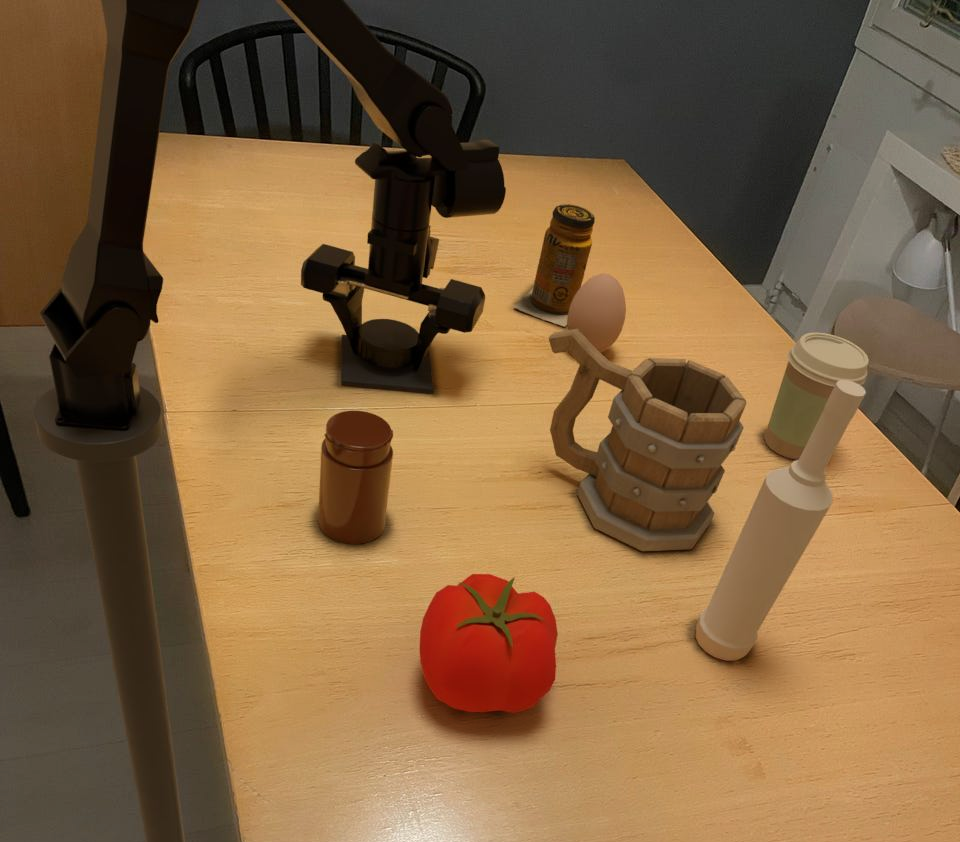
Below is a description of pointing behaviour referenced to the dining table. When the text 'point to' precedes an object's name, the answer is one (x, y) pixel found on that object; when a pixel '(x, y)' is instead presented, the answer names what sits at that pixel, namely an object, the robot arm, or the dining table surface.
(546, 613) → the tomato
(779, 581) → the bottle
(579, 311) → the egg
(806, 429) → the coffee cup
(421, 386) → the rubber mat
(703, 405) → the tankard
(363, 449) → the jam jar
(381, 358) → the jar lid
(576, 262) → the condiment
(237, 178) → the dining table surface
